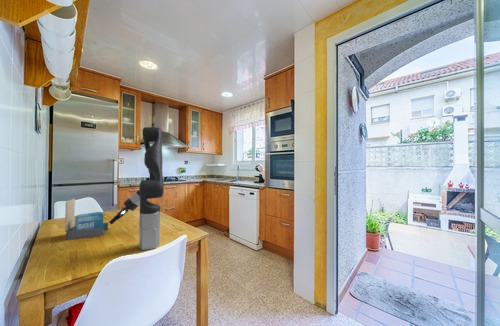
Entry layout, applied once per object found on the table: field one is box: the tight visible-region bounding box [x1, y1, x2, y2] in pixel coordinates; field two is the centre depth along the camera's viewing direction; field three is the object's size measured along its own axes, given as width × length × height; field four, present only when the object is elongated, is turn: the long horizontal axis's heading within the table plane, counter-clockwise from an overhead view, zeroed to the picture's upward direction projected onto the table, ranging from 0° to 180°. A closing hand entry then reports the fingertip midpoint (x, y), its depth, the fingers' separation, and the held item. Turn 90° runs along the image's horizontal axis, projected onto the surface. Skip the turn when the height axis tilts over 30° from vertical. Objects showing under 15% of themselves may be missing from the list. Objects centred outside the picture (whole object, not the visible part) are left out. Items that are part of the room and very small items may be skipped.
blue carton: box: [74, 211, 104, 230], centre depth 108 cm, size 12×4×12 cm, turn 136°
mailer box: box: [64, 198, 109, 241], centre depth 107 cm, size 10×17×20 cm, turn 116°
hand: (110, 223), depth 112 cm, fingers closed
